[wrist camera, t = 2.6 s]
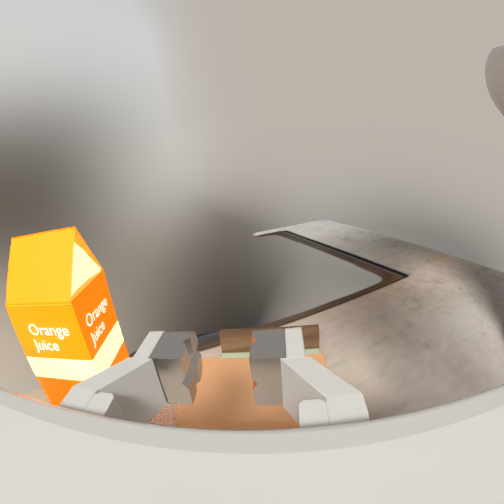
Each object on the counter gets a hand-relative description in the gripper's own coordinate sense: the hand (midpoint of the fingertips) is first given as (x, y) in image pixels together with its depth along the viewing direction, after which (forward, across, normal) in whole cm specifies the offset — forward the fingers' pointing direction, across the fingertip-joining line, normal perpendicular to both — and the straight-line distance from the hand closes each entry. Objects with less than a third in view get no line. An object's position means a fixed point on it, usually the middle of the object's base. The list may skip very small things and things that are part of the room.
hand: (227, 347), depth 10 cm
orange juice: (+14, +20, +18) cm, 30 cm away
